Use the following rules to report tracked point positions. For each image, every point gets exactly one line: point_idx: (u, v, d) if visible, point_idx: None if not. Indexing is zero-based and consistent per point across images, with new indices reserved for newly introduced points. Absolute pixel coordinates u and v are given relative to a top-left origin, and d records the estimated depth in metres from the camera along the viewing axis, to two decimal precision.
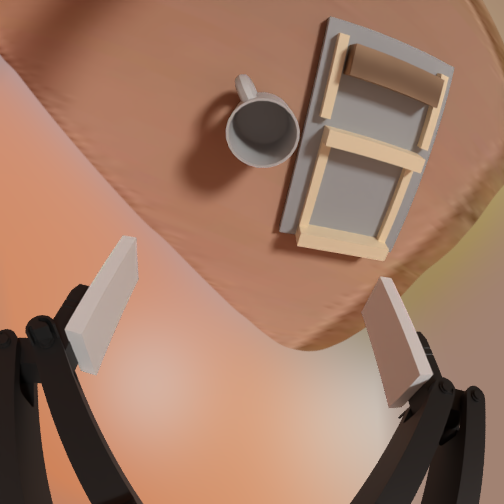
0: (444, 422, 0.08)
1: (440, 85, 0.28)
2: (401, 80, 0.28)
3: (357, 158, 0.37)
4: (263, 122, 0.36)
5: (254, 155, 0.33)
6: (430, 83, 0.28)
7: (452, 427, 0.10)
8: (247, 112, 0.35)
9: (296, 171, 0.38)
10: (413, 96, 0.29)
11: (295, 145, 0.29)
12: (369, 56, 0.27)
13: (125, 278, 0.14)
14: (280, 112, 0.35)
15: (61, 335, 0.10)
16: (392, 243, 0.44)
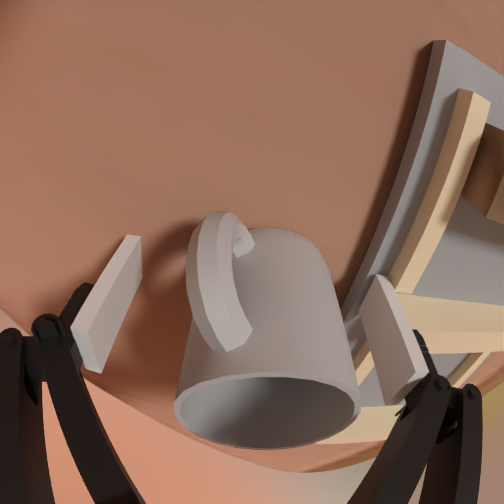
0: (440, 420, 0.09)
1: None
2: None
3: None
4: None
5: (248, 395, 0.15)
6: None
7: (449, 425, 0.10)
8: None
9: None
10: None
11: (342, 427, 0.11)
12: None
13: (130, 277, 0.14)
14: None
15: (66, 333, 0.10)
16: None
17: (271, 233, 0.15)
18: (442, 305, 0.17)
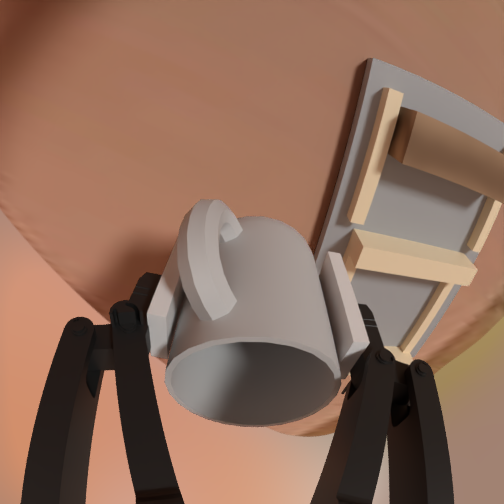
0: (390, 394, 0.10)
1: None
2: (470, 168, 0.19)
3: None
4: None
5: (237, 375, 0.16)
6: (503, 169, 0.18)
7: (403, 404, 0.11)
8: None
9: None
10: (480, 191, 0.19)
11: (325, 402, 0.12)
12: (432, 134, 0.18)
13: None
14: None
15: None
16: (417, 349, 0.34)
17: (258, 221, 0.16)
18: (392, 239, 0.25)
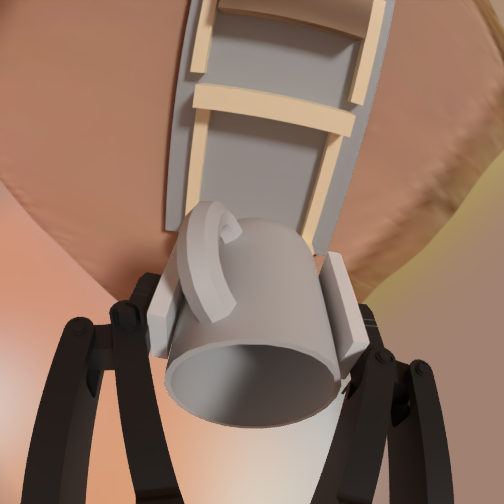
0: (390, 394, 0.10)
1: (367, 6, 0.17)
2: (300, 3, 0.18)
3: (254, 124, 0.27)
4: None
5: (237, 376, 0.16)
6: (350, 3, 0.17)
7: (403, 404, 0.11)
8: None
9: (172, 149, 0.28)
10: (322, 23, 0.19)
11: (325, 404, 0.12)
12: None
13: None
14: None
15: None
16: (326, 243, 0.33)
17: (258, 222, 0.16)
18: (242, 88, 0.24)
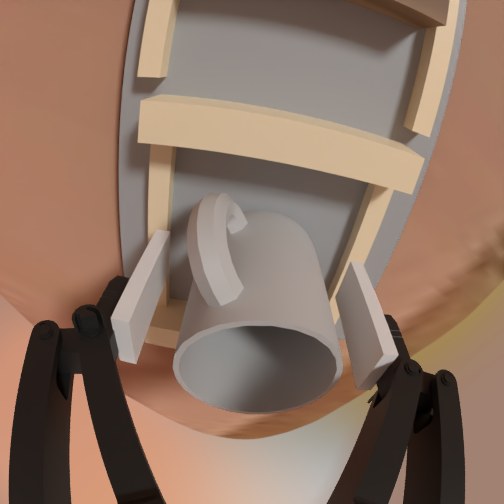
0: (415, 405, 0.09)
1: None
2: None
3: (250, 163, 0.16)
4: None
5: (241, 363, 0.17)
6: None
7: (425, 413, 0.11)
8: None
9: (122, 203, 0.18)
10: None
11: (327, 389, 0.13)
12: None
13: (160, 270, 0.15)
14: None
15: None
16: None
17: (262, 214, 0.17)
18: (227, 102, 0.14)
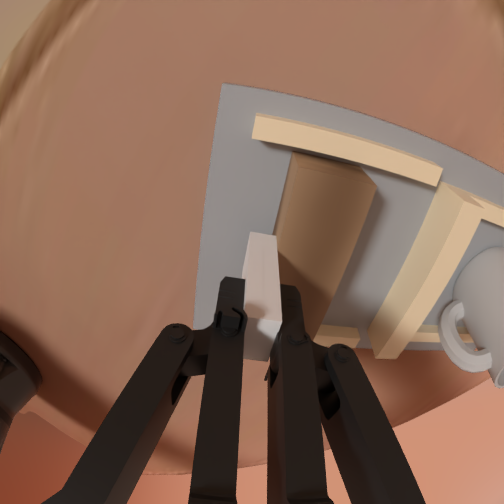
0: (313, 375, 0.10)
1: (316, 179, 0.14)
2: (316, 275, 0.17)
3: None
4: None
5: None
6: (314, 207, 0.15)
7: (331, 391, 0.11)
8: None
9: (417, 348, 0.25)
10: (350, 248, 0.16)
11: None
12: None
13: None
14: None
15: None
16: None
17: (460, 286, 0.20)
18: (388, 303, 0.21)
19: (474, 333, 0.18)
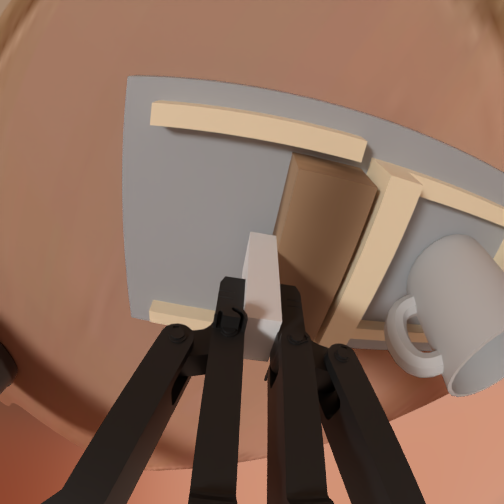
0: (313, 375, 0.10)
1: (316, 181, 0.14)
2: (315, 276, 0.17)
3: None
4: None
5: None
6: (314, 209, 0.15)
7: (331, 391, 0.11)
8: None
9: (373, 347, 0.25)
10: (350, 250, 0.16)
11: None
12: None
13: None
14: None
15: None
16: None
17: (412, 278, 0.19)
18: None
19: (426, 332, 0.17)
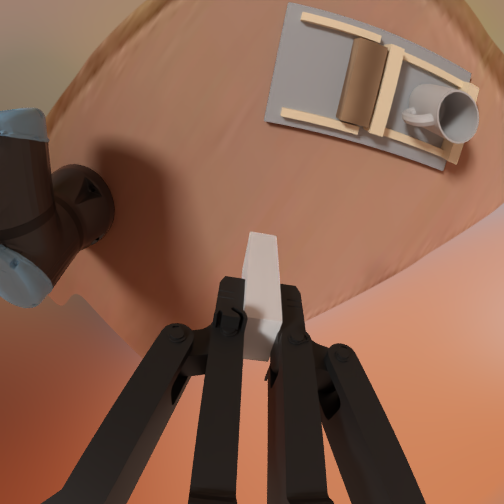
0: (313, 375, 0.10)
1: (366, 42, 0.30)
2: (368, 81, 0.33)
3: (391, 101, 0.37)
4: None
5: (463, 123, 0.32)
6: (366, 52, 0.31)
7: (331, 391, 0.11)
8: None
9: (399, 153, 0.41)
10: (381, 71, 0.32)
11: (468, 95, 0.27)
12: (351, 110, 0.35)
13: None
14: None
15: None
16: (464, 71, 0.32)
17: (410, 101, 0.35)
18: None
19: None
